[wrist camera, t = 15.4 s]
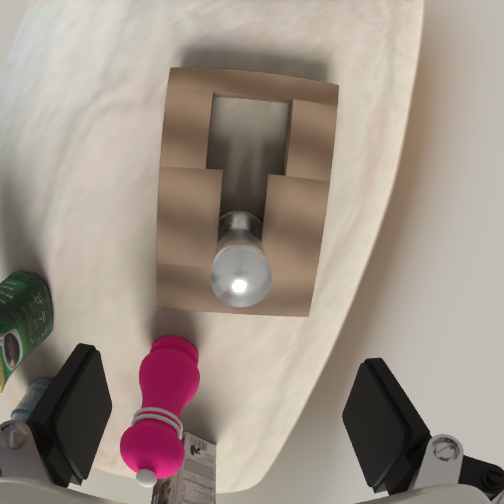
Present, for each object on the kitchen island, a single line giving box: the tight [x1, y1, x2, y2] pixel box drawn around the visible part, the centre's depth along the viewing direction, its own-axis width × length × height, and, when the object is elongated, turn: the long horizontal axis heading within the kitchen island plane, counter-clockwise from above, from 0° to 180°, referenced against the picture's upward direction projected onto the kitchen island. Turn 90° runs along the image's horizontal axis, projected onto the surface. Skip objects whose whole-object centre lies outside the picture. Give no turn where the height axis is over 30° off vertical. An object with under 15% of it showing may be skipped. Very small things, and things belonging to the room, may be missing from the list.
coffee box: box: [151, 432, 216, 504], centre depth 36 cm, size 9×6×16 cm
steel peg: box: [211, 211, 272, 307], centre depth 28 cm, size 6×6×12 cm
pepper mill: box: [120, 336, 200, 487], centre depth 28 cm, size 7×7×20 cm
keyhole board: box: [157, 68, 339, 317], centre depth 30 cm, size 24×16×4 cm, turn 175°
